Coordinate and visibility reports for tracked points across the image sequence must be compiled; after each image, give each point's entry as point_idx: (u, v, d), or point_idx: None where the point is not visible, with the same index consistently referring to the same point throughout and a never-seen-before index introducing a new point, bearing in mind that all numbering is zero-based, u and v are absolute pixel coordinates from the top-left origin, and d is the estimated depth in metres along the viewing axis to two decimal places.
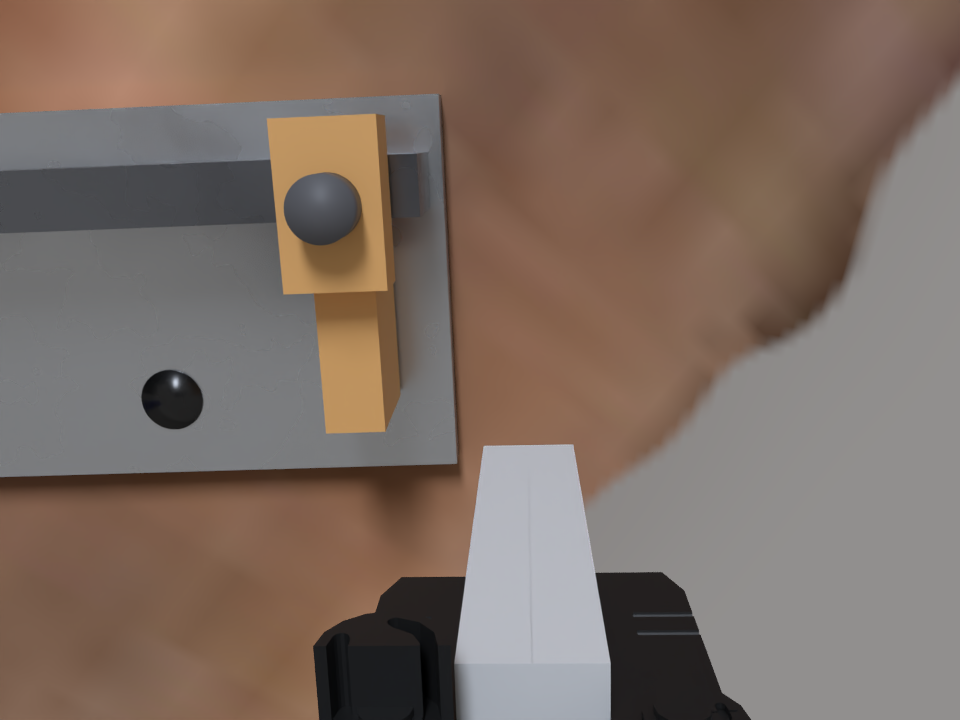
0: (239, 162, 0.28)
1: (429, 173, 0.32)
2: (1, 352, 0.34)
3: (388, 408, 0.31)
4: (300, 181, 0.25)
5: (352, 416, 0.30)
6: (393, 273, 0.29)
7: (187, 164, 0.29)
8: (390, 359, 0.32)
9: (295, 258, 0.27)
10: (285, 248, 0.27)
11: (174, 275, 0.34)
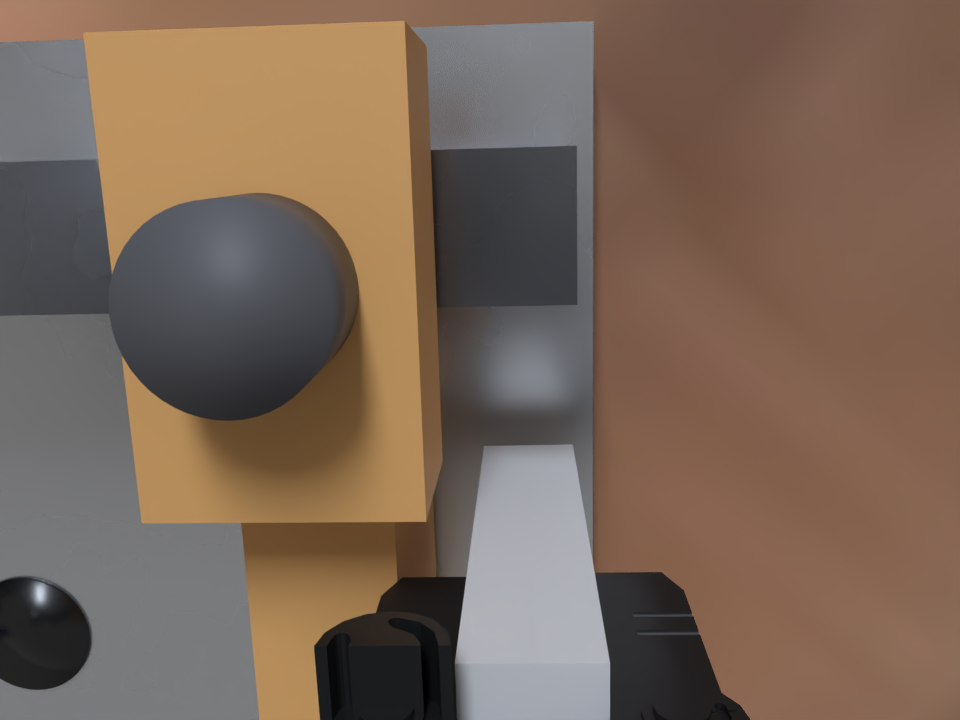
0: None
1: None
2: None
3: None
4: (159, 223, 0.08)
5: None
6: (438, 448, 0.11)
7: None
8: None
9: (173, 430, 0.10)
10: (145, 402, 0.10)
11: (30, 394, 0.16)
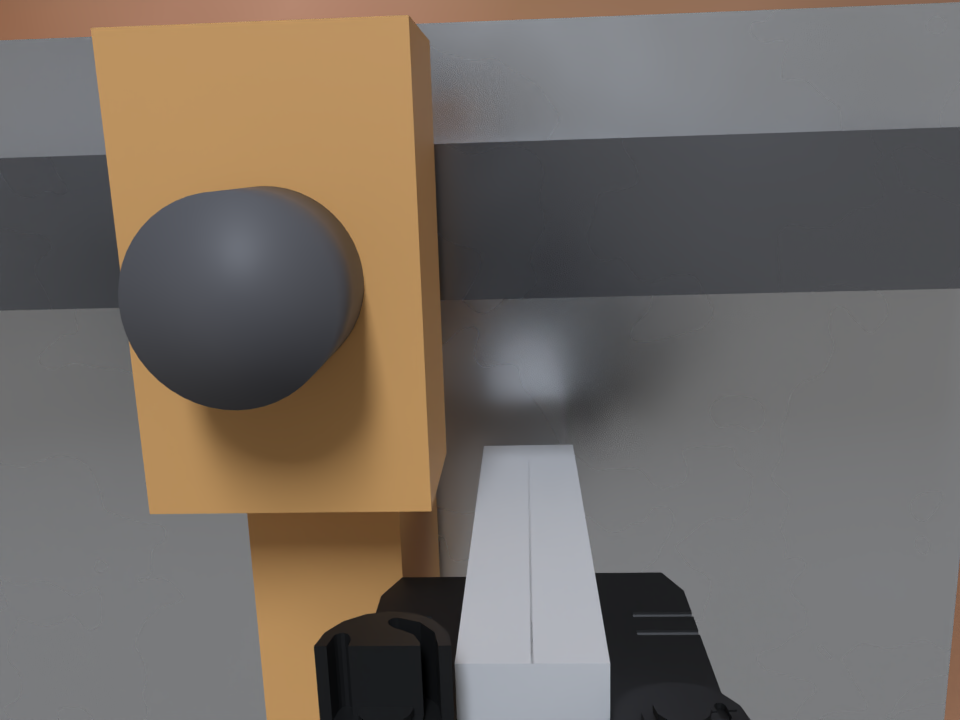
0: (656, 140, 0.11)
1: None
2: (31, 528, 0.17)
3: None
4: (168, 215, 0.08)
5: None
6: (442, 440, 0.11)
7: (519, 144, 0.11)
8: None
9: (181, 421, 0.10)
10: (152, 394, 0.10)
11: None
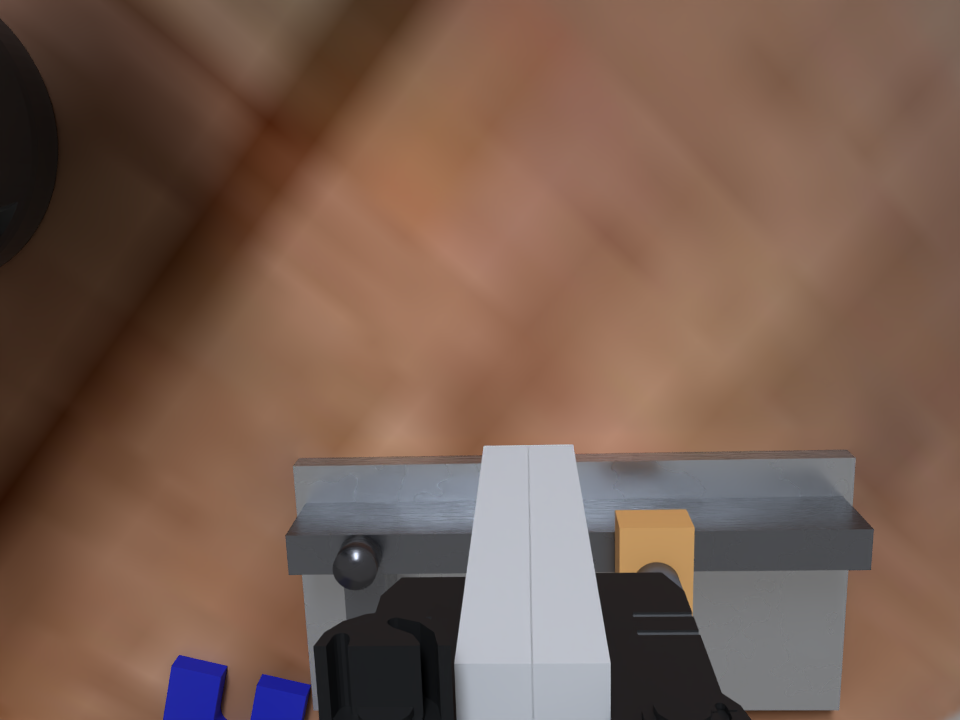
0: (745, 531, 0.41)
1: None
2: None
3: None
4: None
5: None
6: None
7: (707, 531, 0.41)
8: None
9: None
10: None
11: None
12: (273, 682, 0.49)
